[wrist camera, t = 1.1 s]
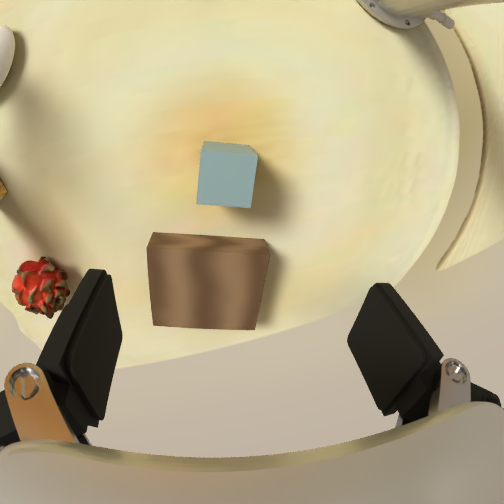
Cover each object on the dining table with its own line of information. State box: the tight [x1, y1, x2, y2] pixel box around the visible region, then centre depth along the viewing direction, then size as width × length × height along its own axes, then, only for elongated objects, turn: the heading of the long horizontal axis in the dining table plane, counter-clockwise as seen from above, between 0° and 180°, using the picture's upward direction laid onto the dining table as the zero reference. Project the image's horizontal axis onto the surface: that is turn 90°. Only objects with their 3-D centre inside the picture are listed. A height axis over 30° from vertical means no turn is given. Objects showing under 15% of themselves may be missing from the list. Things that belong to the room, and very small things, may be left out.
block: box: [197, 141, 258, 208], centre depth 27 cm, size 5×5×7 cm
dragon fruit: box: [12, 256, 70, 319], centre depth 31 cm, size 8×8×12 cm
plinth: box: [147, 232, 270, 330], centre depth 35 cm, size 14×12×4 cm
